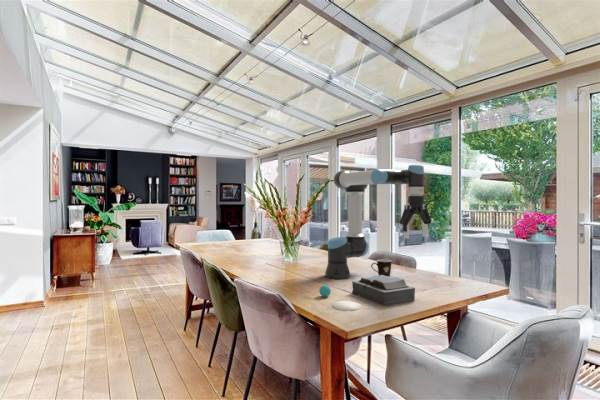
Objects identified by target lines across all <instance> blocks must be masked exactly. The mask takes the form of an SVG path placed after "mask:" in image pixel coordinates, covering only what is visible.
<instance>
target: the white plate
mask: <svg viewBox="0 0 600 400" xmlns="http://www.w3.org/2000/svg"><path fill="white" fill-rule="evenodd" d="M331 307H332V308H333V309H335V310H339V311H346V312H347V311H348V312H350V311H351V312H352V311H358V310H360V309H362V304H360V303H358V302H355V301H349V300H342V301H341V300H339V301H336V302H333V303H331Z"/></svg>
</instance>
